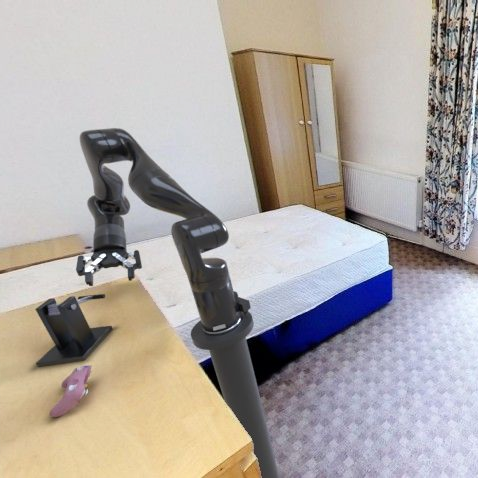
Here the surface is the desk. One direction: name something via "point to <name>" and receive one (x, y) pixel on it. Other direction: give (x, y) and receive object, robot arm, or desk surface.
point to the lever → (81, 299)
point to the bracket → (69, 333)
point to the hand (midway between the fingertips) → (110, 281)
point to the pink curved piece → (72, 391)
